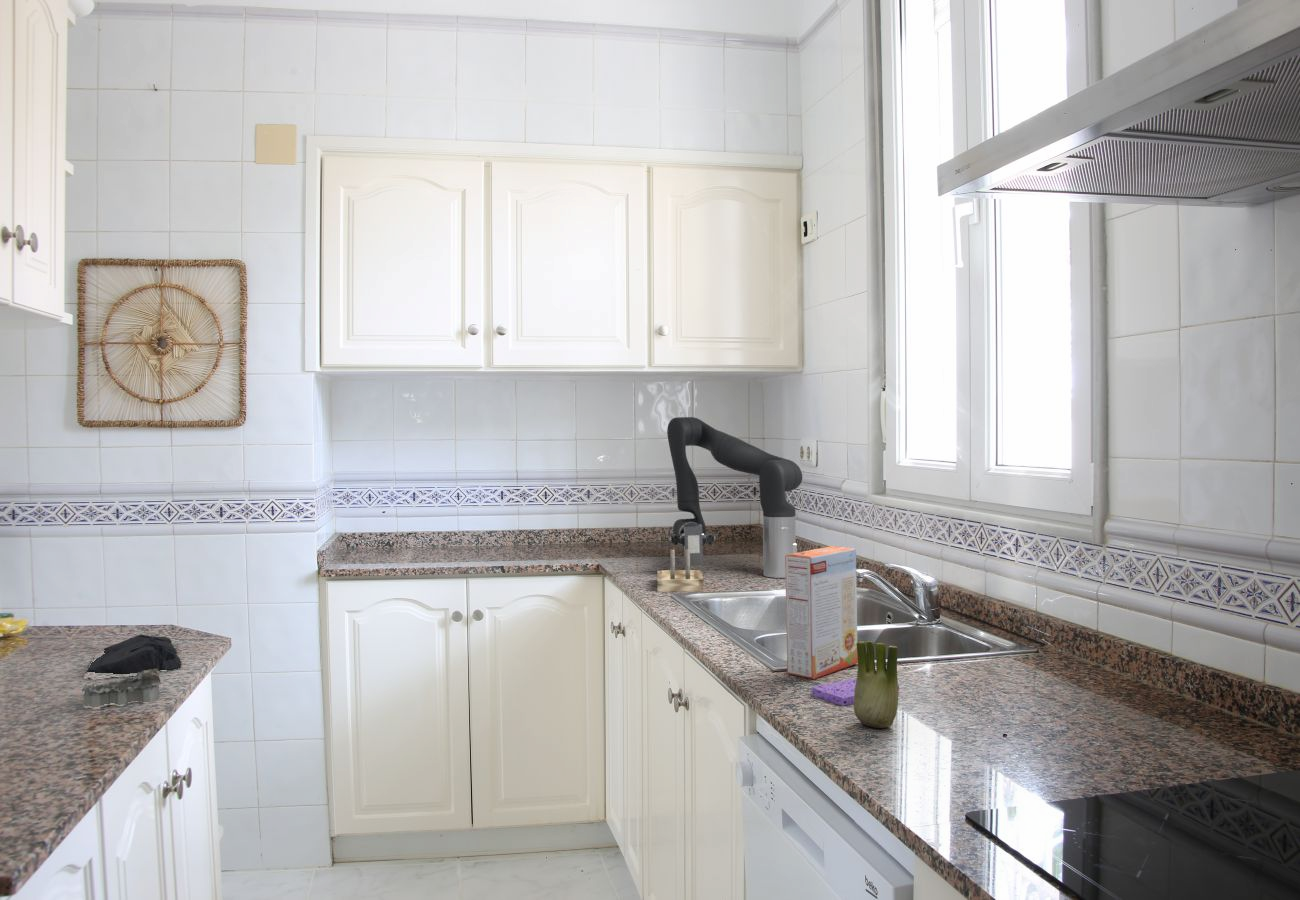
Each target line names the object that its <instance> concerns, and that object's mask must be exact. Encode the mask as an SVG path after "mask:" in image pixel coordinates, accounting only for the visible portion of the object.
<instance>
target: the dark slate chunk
mask: <svg viewBox="0 0 1300 900" xmlns="http://www.w3.org/2000/svg"><path fill="white" fill-rule="evenodd" d="M103 649H104V650H105V651H104V653H105V654H103V655H102V656H101V657H99V658H97V659H96V660H95V661H94V662H92V661H91V662H92V663H91V662H90V663H91V665H90V667H89V668H88V667H87V668H88V670H87V669H86V670H87V672H95V673H113V674H130V673H138V672H142V671H144V670H145V671H147V670H149V669H152V670H153V669H156V668H158V671H160V670H169V671H174V670H173V669H177V670H179V669H181V667H182V660H181V658H180V657H179V656H178V654H177V653H178V652H177V648H175V647H174V644H173V643H172V640H171V638H170V637H167V636H156V635H146V634H139V635H135V636H133V637H130V638H128V639H124V640H123V641H120V642H118V643H116V644H112V645H110V646H107V647H105V648H103ZM178 668H179V669H178Z"/></svg>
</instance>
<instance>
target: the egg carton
mask: <svg viewBox="0 0 1300 900" xmlns="http://www.w3.org/2000/svg"><path fill="white" fill-rule="evenodd" d="M160 685H162V682H161V679H160V672H159V671H158V668H156V669H153V670H152V669H149V670H147V671H145V670H144V671H142V672H138V673H137V675H136V676H133V677H124V679H119V680H110V681H108V682H103V683H101V684H96V685H95V684H94V683H92V684H84V686H83V687H82V689H81V691H82V692H84V693H83V695H82V698H83V706H84V705H85V706H88V705H89V706H92V707H99V706H101V705H104V704H110V703H115V704H118V705H121V704H126V703H128V702H131V701H142V702H150V703H152V702H153V700H154V701H156V700H160ZM142 702H141V703H142Z"/></svg>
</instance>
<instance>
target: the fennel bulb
mask: <svg viewBox="0 0 1300 900" xmlns="http://www.w3.org/2000/svg"><path fill="white" fill-rule="evenodd" d="M856 645H857V659H858V663H857V672H856V678H857V679H856V685H855V691H854V703H853V712H854V715H855V717H856V718H857V720H858V721H859V722H860V723H861V724H863V725H865V726H868V727H871V728H875V729H882V728H883V729H884V728H889V727H892V726H893V723H894V720H895V718H896V716H897V713H898V712H897V711H898V706H899V691H898V685H899V681H898V655H899V654H898V653H899V652H898V651H899V649H898V648H899V647H898V646H895V645H889V646H888V649H886V648H887V647H886V643H882V642H877V643H875V646H874V641H868V640H867V641H857V643H856ZM887 650H888V651H887ZM886 651H887V652H886ZM886 653H887V655H886ZM886 656H887V657H886ZM875 659H876V661H875Z"/></svg>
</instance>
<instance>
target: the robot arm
mask: <svg viewBox="0 0 1300 900" xmlns="http://www.w3.org/2000/svg"><path fill="white" fill-rule="evenodd" d="M666 430H667V431H666V433H667V441H668V445H669V451H670V456H671V461H672V465H673V470H674V475H675V483H676V484H675V485H676V501H677V503H676V504H677V509H678V510H679V511H681V512H684V513H685V512H686V513H691V515H693V518H680V519H677V520H675V522H674V523H673V526H672V527H673V528H672V533H670V534H669V536H668V538H669V540H668V541H669V543H670V544H671V545H673V546H674V545H675V546H677V545H678V544H679V545H680V546H683V547H684V546H685V538H684V524H701V525H702V542H703V546H705V545H707V544H709V545H713V544H714V543H715V542H716V533H715V532H712V533H708V535H707V526H706V523H705V520H704V517H703V514H702V511H701V505H700V491H699V483H698V479H697V477H696V475H695V473H694V472H693V469H692V468H691V465H690V463H689V461H688V457H687V451H686V449H687V448H686V447H689V446H691V447H692V446H693V447H699V448H702V449H704V450H707V451H709V452H710V454H711V456H712V457H713V459H714V460H715V461H716V462H718V463H719V464H720V465H723V466H725V467H727V468H729V469H731V470H734V471H737V472H741V473H746V474H751V475H756V476H758V483H759V486H758V487H759V501H760V506H761V510H762V522H763V523H762V528H763V529H762V539H763V540H762V544H763V545H762V548H763V550H762V551H763V553H762V557H763V559H762V561H763V563H762V565H763V566H762V567H763V568H762V570H763V572H762V573H763V576H764V577H767V578H776V579H777V578H778V579H781V578H782V579H784V578H785V555H787V554H792V553H798V543H797V541H796V540H797V539H796V536H797V535H796V533H797V532H796V525H797V524H796V518H797V517H796V506H795V505H794V504H791V503H790V502H789V501H787V499H786V493H787V492H791V491H794V490H796V489H798V488H799V487H800V486H801V484H802V482H803V473H802V470H801V468H800V466H799V464H797V463H796V462H795V461H793V460H791V459H787V458H784V457H780V456H777V455H774V454H771V453H768V452H766V451H765V450H762V449H760V448H759V447H756V446H754V445H752V444H750V443H749V442H746V441H744V440H742V439H740V438H737V437H735V436H733V435H730V434H728V433H726V432H723V431H720V430H718V429H716V428H714V427H712V426H711V425H709V424H708V423H706V422H704V421H703V420H701V419H700V418H697V417H693V416H683V417H682V416H681V417H680V416H678V417H674V418H673V417H672V419H671V420H670V421H669V422H668V424H667V429H666Z"/></svg>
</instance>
